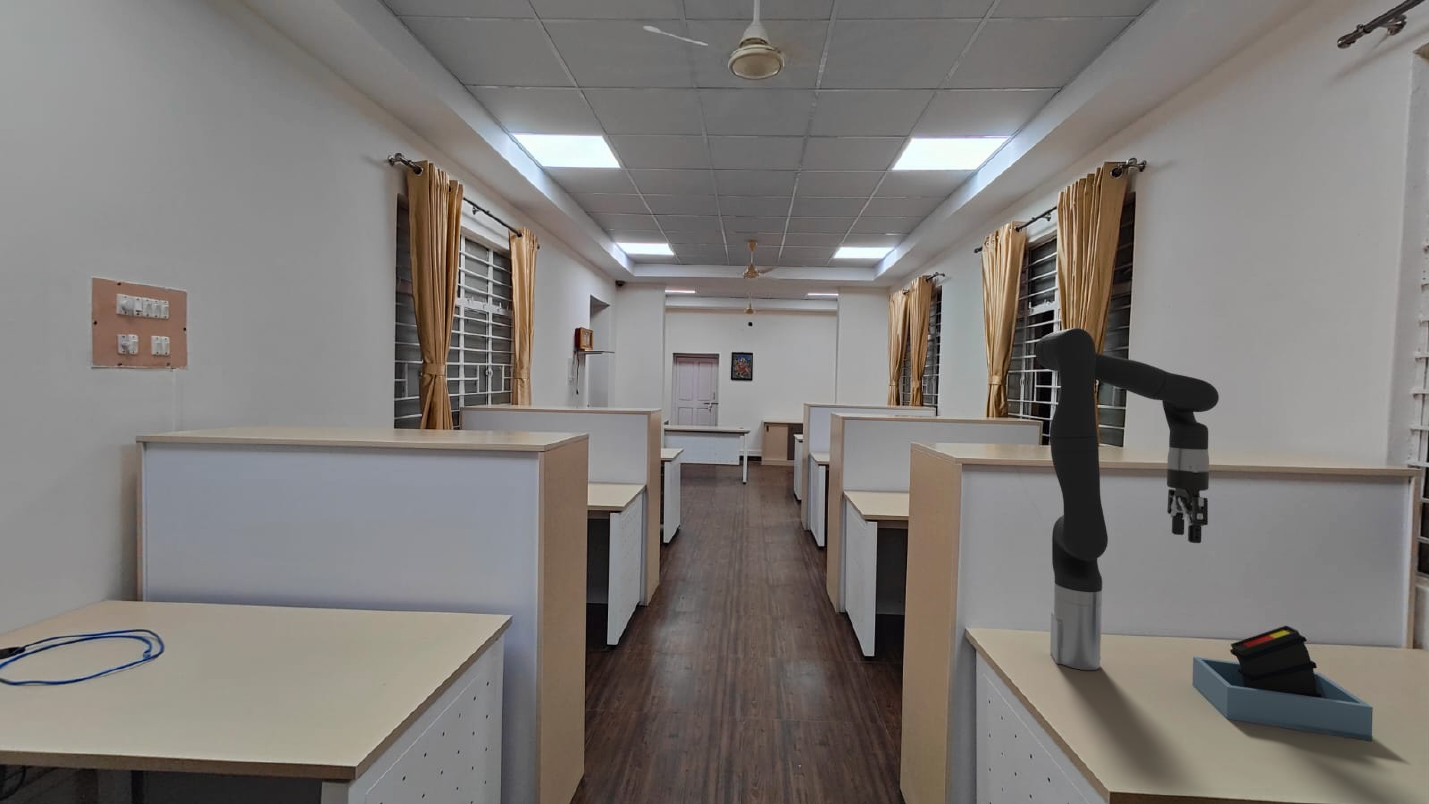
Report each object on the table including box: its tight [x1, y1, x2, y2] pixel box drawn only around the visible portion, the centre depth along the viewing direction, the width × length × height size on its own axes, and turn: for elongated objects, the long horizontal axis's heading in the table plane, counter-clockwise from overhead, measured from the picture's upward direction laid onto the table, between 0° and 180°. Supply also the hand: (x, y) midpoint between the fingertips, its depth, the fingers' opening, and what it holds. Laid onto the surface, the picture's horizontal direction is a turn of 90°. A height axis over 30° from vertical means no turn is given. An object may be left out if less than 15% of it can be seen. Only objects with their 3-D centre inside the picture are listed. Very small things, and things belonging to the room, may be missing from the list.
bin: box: [1191, 656, 1374, 742], centre depth 114 cm, size 21×14×6 cm, turn 72°
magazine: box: [1229, 625, 1321, 698], centre depth 115 cm, size 4×13×15 cm, turn 80°
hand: (1185, 538), depth 136 cm, fingers open, 8 cm apart
